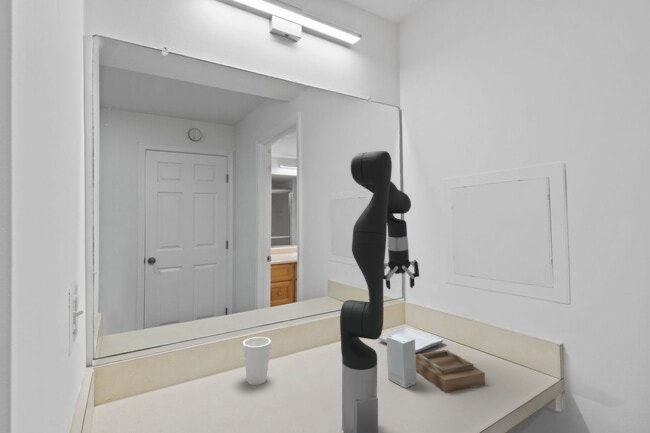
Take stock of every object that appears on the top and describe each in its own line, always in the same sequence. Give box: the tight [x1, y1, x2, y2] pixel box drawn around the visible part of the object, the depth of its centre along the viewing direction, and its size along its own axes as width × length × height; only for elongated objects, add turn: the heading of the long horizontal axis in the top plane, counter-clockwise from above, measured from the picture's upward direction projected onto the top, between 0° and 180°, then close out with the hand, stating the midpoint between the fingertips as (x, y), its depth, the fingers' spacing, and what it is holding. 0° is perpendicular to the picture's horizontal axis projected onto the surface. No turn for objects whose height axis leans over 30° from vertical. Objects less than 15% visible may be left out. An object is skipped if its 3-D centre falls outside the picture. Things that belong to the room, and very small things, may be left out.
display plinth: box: [415, 349, 486, 393], centre depth 119 cm, size 20×16×6 cm
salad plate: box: [377, 326, 445, 354], centre depth 148 cm, size 21×21×3 cm
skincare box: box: [386, 334, 417, 389], centre depth 114 cm, size 8×6×15 cm
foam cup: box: [242, 336, 272, 385], centre depth 115 cm, size 10×9×13 cm
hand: (400, 288), depth 130 cm, fingers open, 8 cm apart
